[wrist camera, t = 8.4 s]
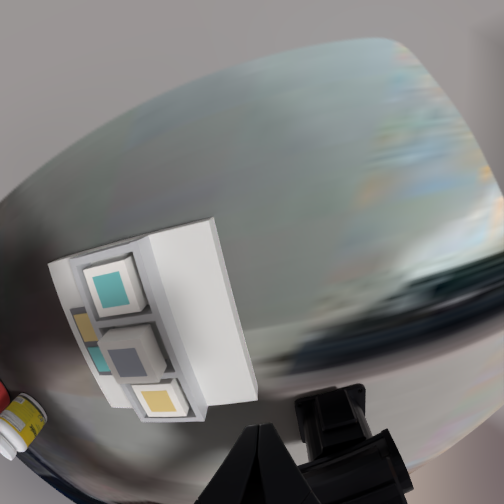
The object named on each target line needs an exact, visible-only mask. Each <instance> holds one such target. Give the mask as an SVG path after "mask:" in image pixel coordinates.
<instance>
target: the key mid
mask: <svg viewBox="0 0 504 504" xmlns="http://www.w3.org/2000/svg"><path fill="white" fill-rule="evenodd" d="M97 344H98V346H99V348H100V350H101V353H102V355H103V357H104V359H105V361H106V363H107V365H108V367H109V369H110V371H111V373H112V375H113V377H114V379H115V381H116V382H117V384H139V383H159V382H160V379H161V377H162V375H163V373H164V371H165V369H166V367H167V365H166V362H165V360H164V358H163V355H162V353H161V350H160V348H159V345H158V343H157V340H156V338H155V335H154V333H153V330H152V328H151V325H150V324H147V325H139V326H132V327H124V328H115V329H109V330H108V332H107V333H106V334H105V335H104V336H103V337H102V338H101V339H100V340H99V341H98V342H97Z"/></svg>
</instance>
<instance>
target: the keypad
mask: <svg viewBox="0 0 504 504" xmlns="http://www.w3.org/2000/svg"><path fill="white" fill-rule="evenodd" d="M132 253H133V255H134V258H135V262H136V265H137V268H138V272H139V275H140V278H141V281H142V284H143V287H144V290H145V293H146V296H147V299H148V302H149V303H148V304H147V305H146V306H145V307H144V308H143V310H142V311H140V312H134V313H127V314H120V315H113V316H106V317H99V314H98V312H97V309H96V306H95V304H94V301H93V298H92V296H91V293H90V290H89V287H88V284H87V281H86V278H85V275H84V272H83V270H84V269H86V268H88V267H89V266H91V265H93V264H95V263H97V262H100V261H104V260H108V259H112V258H116V257H120V256H124V255H128V254H132ZM48 267H49V270H50V273H51V276H52V279H53V282H54V285H55V288H56V291H57V294H58V297H59V299H60V302H61V305H62V307H63V310H64V313H65V315H66V318H67V320H68V322H69V325H70V327H71V329H72V332H73V334H74V336H75V339H76V341H77V343H78V345H79V347H80V349H81V352H82V354H83V356H84V358H85V360H86V362H87V364H88V366H89V368H90V370H91V371H92V373H93V375H94V377H95V379H96V381H97V383H98V384H99V386H100V388H101V390H102V392H103V393H104V395H105V397H106V398H107V400H108V402H109V403H110V405H111V407H115V408H133V409H134V410H135V412H136V414H137V415H138V417H139V418H140V420H141V422H195V421H199V422H203V421H205V418H206V413H207V409H208V406H212V405H223V404H233V403H241V402H249V401H256V400H258V384H257V381H256V377H255V374H254V370H253V367H252V363H251V359H250V356H249V352H248V349H247V345H246V341H245V338H244V334H243V330H242V327H241V323H240V319H239V316H238V312H237V308H236V304H235V300H234V297H233V293H232V289H231V285H230V281H229V277H228V273H227V269H226V265H225V261H224V257H223V253H222V249H221V245H220V241H219V237H218V233H217V229H216V225H215V221H214V217H211V218H207V219H203V220H198V221H194V222H190V223H186V224H182V225H178V226H174V227H170V228H166V229H162V230H158V231H154V232H150V233H147V234H143V235H139V236H135V237H132V238H128V239H124V240H121V241H117V242H113V243H110V244H106V245H103V246H99V247H96V248H92V249H89V250H85V251H82V252H79V253H75V254H72V255H69V256H65V257H62V258H59V259H57V260H55V261H53V262H50V263H48ZM147 324H150V325H151V328H152V330H153V333H154V335H155V338H156V340H157V343H158V345H159V348H160V350H161V353H162V355H163V358H164V360H165V362H166V365H167V367H166V369H165V371H164V373H163V375H162V377H161V379H168V378H178V379H179V381H180V383H181V386H182V388H183V390H184V392H185V394H186V397H187V399H188V401H189V403H190V407H189V410H188V413H187V416H179V417H148V415H147V413H146V412H145V410H144V408H143V407H142V405H141V403H140V401H139V399H138V398H137V396H136V394H135V392H134V390H133V388H132V386H131V384H117V382H116V381H115V379H114V377H113V375H112V373H111V371H110V369H109V367H108V365H107V363H106V361H105V359H104V357H103V355H102V353H101V350H100V348H99V346H98V344H97V342H98V341H99V340H100V339H101V338H102V337H103V336H104V335H105V334H106V333H107V332H108V330H109V329H115V328H124V327H132V326H139V325H147Z"/></svg>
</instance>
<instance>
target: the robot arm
mask: <svg viewBox="0 0 504 504" xmlns="http://www.w3.org/2000/svg"><path fill="white" fill-rule="evenodd" d="M359 389H361V390H359ZM365 392H366V389H365V387H364V385H362V384H359V385H356V386H352V387H348V388H344V389H341V390H337V391H333V392H329V393H324V394H320V395H316V396H311V397H306V398H301V399H298V400H296V401H295V409H296V414H297V419H298V424H299V429H300V434H301V439H302V442H303V443H306V447H307V453H308V460H309V462H308V463H305V464H302V465H299V466H297V465H296V464H295V462H294V460H293V459H292V457H291V455H290V454H289V452H288V450H287V448H286V447H285V445H284V443H283V442H282V440H281V438H280V436H279V435H278V433H277V431H276V429H275V428H274V426H273V424H272V423H264V424H260V425H257V424H256V425H248V426H246V427H245V429H244V430H243V432H242V434H241V435H240V437H239V438H238V440H237V442H236V443H235V445H234V446H233V448H232V449H231V451H230V452H229V454H228V455H227V457H226V458H225V460H224V462H223V463H222V464H221V466H220V467H219V469H218V470H217V472H216V473H215V475H214V476H213V478H212V479H211V481H210V482H209V483H208V485H207V486H206V488H205V489H204V490H203V492H202V493H201V495H200V496H199V497H198V500H196V501H195V503H194V504H407V501H406V498H405V496H404V494H405V493H407V492H409V491H411V490H413V489H414V488H413V485H412V482H411V479H410V476H409V474H408V471H407V469H406V467H405V464H404V462H403V460H402V457H401V455H400V453H399V451H398V449H397V447H396V445H395V443H394V441H393V439H392V437H391V435H390V433H389V431H388V429H385V430H383V431H381V433H379V434H377V435H375V436H372V433H371V431H370V428H369V426H368V423H367V421H366V418H365ZM299 404H300V405H299Z"/></svg>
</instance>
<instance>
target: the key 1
mask: <svg viewBox="0 0 504 504" xmlns="http://www.w3.org/2000/svg"><path fill="white" fill-rule="evenodd" d="M83 272H84V275H85V278H86V281H87V284H88V287H89V290H90V293H91V296H92V298H93V301H94V304H95V306H96V309H97V312H98V314H99V317H106V316H113V315H120V314H127V313H134V312H140V311H142V310H143V308H144V307H145V306H146V305H147V304H148V303H149V302H148V299H147V296H146V293H145V290H144V287H143V284H142V281H141V278H140V275H139V272H138V268H137V265H136V262H135V258H134V255H133V253H132V254H128V255H124V256H120V257H116V258H112V259H108V260H104V261H100V262H97V263H95V264H93V265H91V266H89V267H88V268H86V269H84V270H83Z"/></svg>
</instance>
